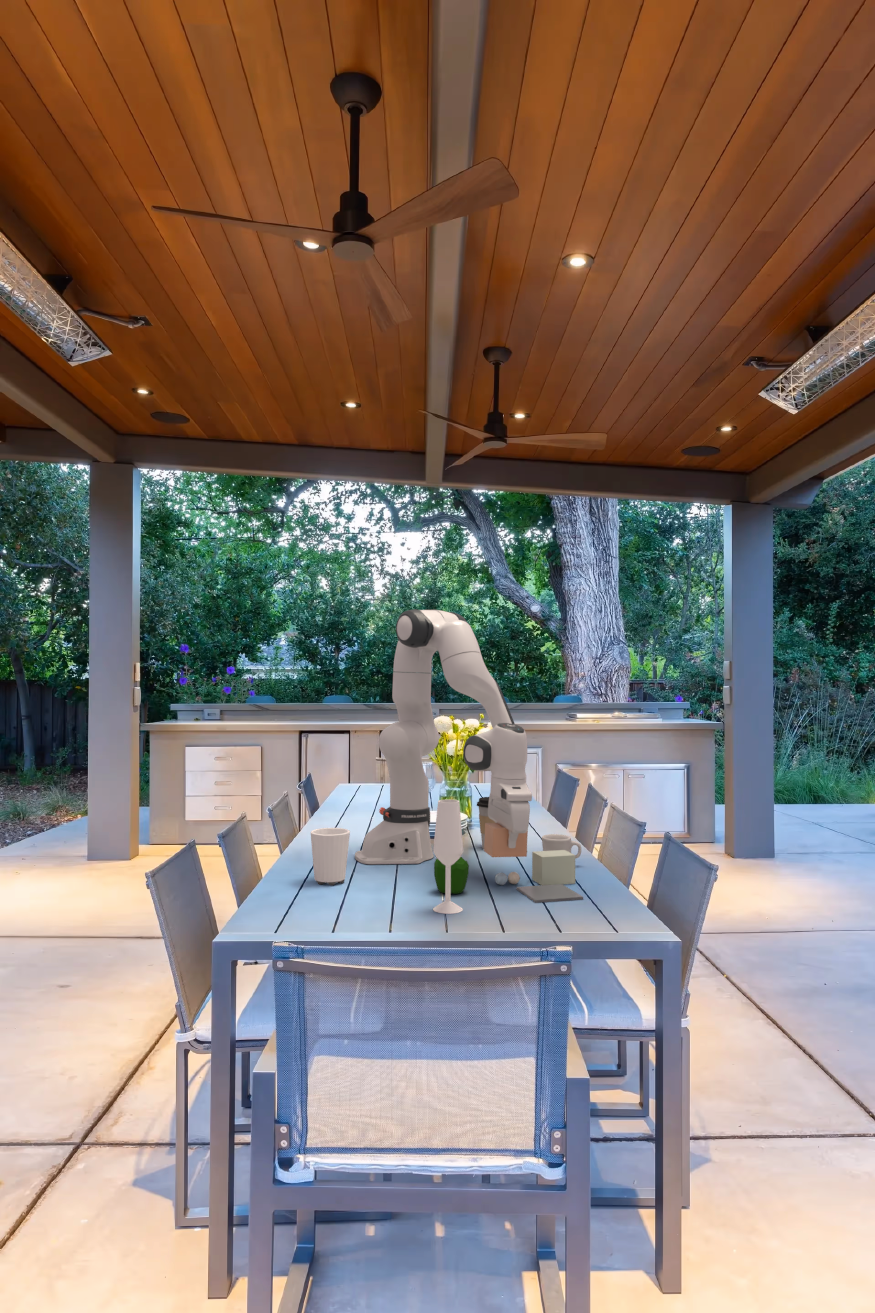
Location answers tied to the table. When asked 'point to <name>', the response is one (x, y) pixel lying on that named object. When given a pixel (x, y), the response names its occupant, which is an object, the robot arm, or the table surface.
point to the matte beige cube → (553, 867)
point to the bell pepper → (452, 875)
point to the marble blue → (501, 878)
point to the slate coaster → (549, 893)
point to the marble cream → (513, 878)
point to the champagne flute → (448, 847)
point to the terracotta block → (503, 842)
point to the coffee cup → (483, 816)
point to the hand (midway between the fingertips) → (505, 844)
